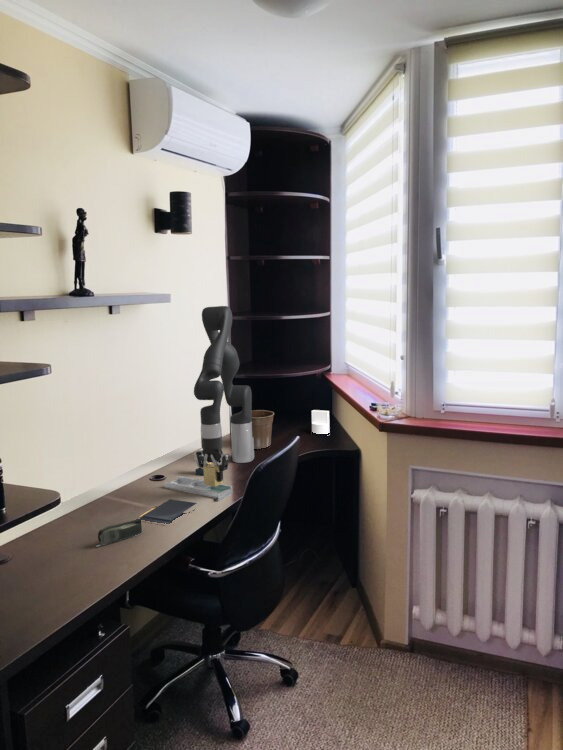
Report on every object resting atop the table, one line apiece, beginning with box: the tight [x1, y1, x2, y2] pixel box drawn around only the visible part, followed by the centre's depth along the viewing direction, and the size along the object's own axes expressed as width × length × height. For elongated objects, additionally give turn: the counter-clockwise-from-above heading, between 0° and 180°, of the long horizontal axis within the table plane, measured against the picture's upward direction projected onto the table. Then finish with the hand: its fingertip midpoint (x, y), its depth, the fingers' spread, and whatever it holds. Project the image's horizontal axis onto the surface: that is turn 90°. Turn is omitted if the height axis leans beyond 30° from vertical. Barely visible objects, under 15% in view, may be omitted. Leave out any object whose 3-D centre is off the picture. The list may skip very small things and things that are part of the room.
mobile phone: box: [95, 518, 143, 548], centre depth 177 cm, size 5×3×15 cm
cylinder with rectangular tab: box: [311, 409, 331, 434], centre depth 293 cm, size 9×9×12 cm
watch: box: [193, 448, 212, 477], centre depth 234 cm, size 6×8×11 cm
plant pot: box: [252, 409, 275, 450], centre depth 274 cm, size 16×16×16 cm
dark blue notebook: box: [138, 498, 198, 524], centre depth 198 cm, size 20×2×15 cm
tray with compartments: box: [163, 475, 233, 502], centre depth 216 cm, size 8×26×3 cm, turn 58°
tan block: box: [203, 463, 225, 487], centre depth 211 cm, size 5×5×7 cm
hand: (213, 479), depth 211 cm, fingers closed on tan block, 5 cm apart
